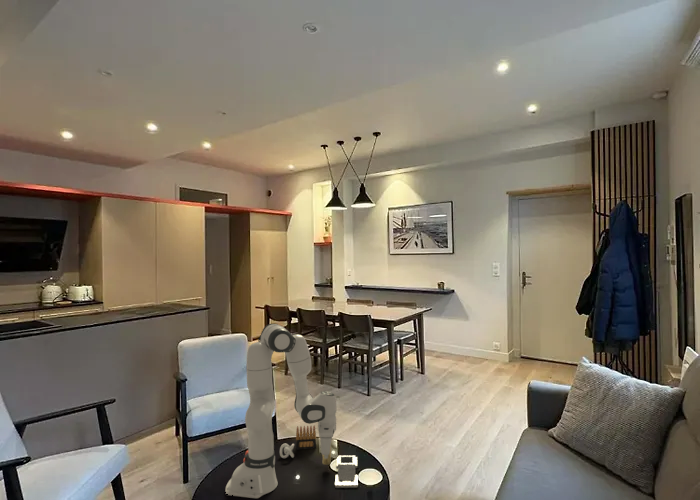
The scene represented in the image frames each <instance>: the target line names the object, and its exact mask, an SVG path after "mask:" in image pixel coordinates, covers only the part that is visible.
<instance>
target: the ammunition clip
mask: <svg viewBox="0 0 700 500" xmlns="http://www.w3.org/2000/svg"><path fill="white" fill-rule="evenodd" d="M316 433H317V432H316V425H313V427H312V425H310V427H309V426H308V425H307V426H305V425H304V426H303V427H302V426H300V427H299V426H297V427H296V433H295V434H296V435H295V441H296V442H295V450H310V449H311V450H312V449H313V448H314V449H317V434H316Z"/></svg>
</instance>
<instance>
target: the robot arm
mask: <svg viewBox="0 0 700 500" xmlns="http://www.w3.org/2000/svg"><path fill="white" fill-rule="evenodd" d="M274 352H276V353H278V354H279V353H284V354H285V359H286V362H287V367H288V370H289V372H290V375H291V377H292V379H293V383H294V384H293V385H294V389H295V399H294V409H295V411H296V412H297V413H298V415H299V417H300V418H301V420H302V422H304V423H305V424H309V425H311V424H316V423H317V431H318V437H319V438H320V439H319V441H320V453H321V455H324V458H325V459H327V458H328V455H329V454H330V447H331V448H332V441H333V438H334V434H335V432H336V431H337V416H336V415H337V414H336V413H337V407H338V406H337V398H336V395H335V394H334V393H333V392H331V391H329V390H321V391H320V392H319V393H318V394H317V395H316V396H315V397H313V396H312V394H311V392H310V391H309V390H310V389H309V384H308V378H307V376H308V375H309V374H310V372H311V371H312V358H311V353H310V349H309V346H308V342H307V340H306V338H305V337H304V336H303V335H301V334H292V333H291V332H290V331H289V330H288V329H286V328H285V327H284V326H283V325H280V324H279V323H273V322H272V323H269V324H266V325H265V326H264V327H263V329H262V331H261V332H260V335H259V337H258V341H256V342H254V343H251V344H250V345H249V347H248V348H247V354H246V363H245V364H246V387H247V389H248V393H249V406H248V408H247V409H246V411H245V415H244V419H245V420H244V423H245V426H246V431H247V438H248V439H247V441H248V442H247V443H248V445H247V446H248V447H247V448H248V449H247V450H246V451H245V454H244V457H243V461H242V462H243V463H241V464H240V465H238V466H237V467H236V468H235V470H234V471H233V473H232V475H231V478H230V479H229V480H228V482H227V484H226V486H225V491H224V492H226V493H225V495H226V494H228V495H227V496H232V495H233V497H241V498H250V499H259V498H261V497H263V496H264V495H266V494H269V493H271V492H272V491H274V490H276V488H277V486H278V484H279V483H278V478H277V475H276V469H275V464H276V454H275V450H274V449H275V445H274V444H275V443H274V440H275V439H274V437H275V436H274V432H273V424H272V422H273V421H272V419H273V414H274V411H275V407H276V402H275V393H274V391H275V390H274V385H273V367H272V365H273V364H272V363H273V362H272V356H273V354H274Z"/></svg>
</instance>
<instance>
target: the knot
mask: <svg viewBox="0 0 700 500" xmlns="http://www.w3.org/2000/svg"><path fill="white" fill-rule="evenodd" d="M295 447H296V443H292V444H291V445H289V444H288V443H283V444H281V446H280V447H279V456H280V457H281V459H287V458H288V457H289V456H290V457H291V458H292V459H294V457H295V454H294V452H293V450H294V448H295ZM283 452H284V454H283Z"/></svg>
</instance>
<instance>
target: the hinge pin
mask: <svg viewBox="0 0 700 500" xmlns="http://www.w3.org/2000/svg"><path fill="white" fill-rule="evenodd" d="M321 455H322V454H321ZM331 456H332V446H331V447H330V454H329V455H328V458H327V459H325V458H324V455H322V456H321V457H322V462H321V463H322V465H324V466H325V465H326V466H327V465H328V466H329V465H330V464H331V463H332V461H331V459H332V457H331Z"/></svg>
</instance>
